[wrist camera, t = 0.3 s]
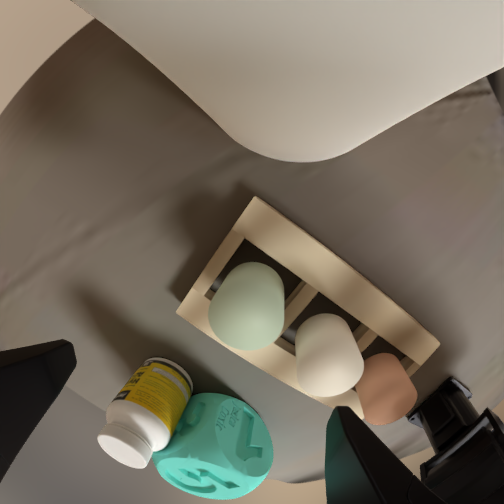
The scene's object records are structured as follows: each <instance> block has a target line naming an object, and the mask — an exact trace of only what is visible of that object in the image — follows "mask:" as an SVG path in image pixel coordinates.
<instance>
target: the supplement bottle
mask: <svg viewBox="0 0 504 504" xmlns="http://www.w3.org/2000/svg"><path fill="white" fill-rule="evenodd" d="M192 391H193V384H192V381H191V378H190V376H189V375H188V374H187V372H186V371H185V370H184V369H183V368H182V367H180V366H179V365H178V364H176V363H174V362H172V361H170V360H167V359H164V358H150V359H148V360H146V361H145V362H144V363H143V364H142V365H141V366H140V367H139V368H138V370H137V371H136V372H135V373H134V375H133V376H132V377H131V378H130V380H129V381H128V382H127V383H126V385H125V386H124V387H123V389H122V390H121V391H120V392H119V393H118V395H117V396H116V397H115V398H114V400H113V401H112V402H111V404H110V405H109V406H108V408H107V411H106V418H107V422H108V424H106V426H104V428H103V429H102V431H101V432H100V433H99V435H98V442H99V444H100V446H101V447H102V448H103V450H104V451H105V452H106V453H108V454H109V455H110V456H111V457H113V458H114V459H116V460H117V461H119V462H121V463H123V464H125V465H127V466H130V467H133V468H144V467H146V466H147V464H148V462H149V460H150V458H151V456H152V454H153V452H154V451H159V450H162V449H164V448H165V447H166V446H167V445H168V443H169V441H170V439H171V437H172V435H173V432H174V430H175V428H176V426H177V424H178V422H179V420H180V418H181V416H182V414H183V412H184V409H185V407H186V405H187V403H188V401H189V399H190V397H191V394H192Z"/></svg>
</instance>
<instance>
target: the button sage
mask: <svg viewBox="0 0 504 504" xmlns="http://www.w3.org/2000/svg"><path fill="white" fill-rule="evenodd" d="M208 319H209V323H210V326H211V328H212V330H213V332H214V333H215V335H216V336H217V337H218V338H219V339H220V340H221V341H222V342H224V343H225V344H227V345H228V346H231V347H233V348H236V349H239V350H247V351H248V350H258V349H261V348H264V347H266V346H268V345H270V344H271V343H272V342H274V341H275V340H276V339H277V337H278V336H279V335H280V333H281V331H282V328H283V325H284V286H283V282H282V280H281V278H280V276H279V275H278V273H277V272H276V271H275V270H273V269H272V268H271V267H269V266H267V265H265V264H262V263H258V262H247V263H243V264H240V265H238V266H236V267H235V268H234V269H232V270H231V271H230V273H229V274H228V275H227V277H226V278H225V280H224V281H223V283H222V285H221V286H220V288H219V289H218V291H217V292H216V294H215V295H214V297H213V298H212V300H211V302H210V305H209V309H208Z"/></svg>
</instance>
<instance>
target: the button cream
mask: <svg viewBox="0 0 504 504" xmlns="http://www.w3.org/2000/svg"><path fill="white" fill-rule="evenodd" d="M295 350H296V370H297V380H298V383H299V385H300V386H301V388H302V389H303V390H304V391H306V392H307V393H309V394H311V395H314V396H319V397H331V396H336V395H339V394H342V393H344V392H346V391H348V390H349V389H351V388H352V387H353V386H354V385H355V384H356V383H357V382H358V381H359V380H360V378H361V376H362V374H363V371H364V361H363V358H362V356H361V353H360V351H359V349H358V346H357V344H356V342H355V339H354V337H353V335H352V332H351V330H350V328H349V326H348V324H347V322H346V321H345V320H344V319H342V318H341V317H339V316H337V315H334V314H328V313H324V314H318V315H315V316H312V317H310V318H309V319H307V320H306V321H304V322H303V323H302V324H301V326H300V327H299V328H298V330H297V332H296V336H295Z"/></svg>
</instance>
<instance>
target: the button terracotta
mask: <svg viewBox="0 0 504 504" xmlns="http://www.w3.org/2000/svg"><path fill="white" fill-rule="evenodd" d="M355 387H356V391H357V394H358V397H359V400H360V404H361V407H362V411H363V414H364V417H365V419H366V421H367V422H369V423H370V424H374V425H385V424H389V423H392V422H394V421H396V420H398V419H400V418H402V417H403V416H404V415H406V414H407V413H408V412H409V411H410V410H411V409H412V407H413V406H414V404H415V403H416V400H417V391H416V389H415V387H414V385H413V384H412V382H411V380H410V378H409V377H408V375H407V373H406V372H405V370H404V368H403V366H402V365H401V363H400V361H399V360H398V358H397V357H396V356H394V355H393V354H390V353H380V354H376V355H373V356H371V357H369V358H367V359H366V360H364V371H363V374H362V376H361V378H360V380H359V381H358V382H357V383H356V384H355Z"/></svg>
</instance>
